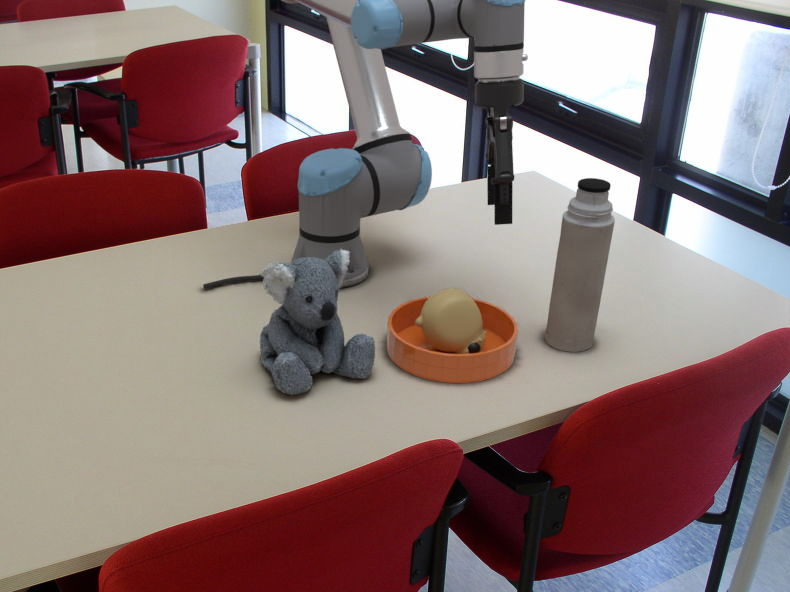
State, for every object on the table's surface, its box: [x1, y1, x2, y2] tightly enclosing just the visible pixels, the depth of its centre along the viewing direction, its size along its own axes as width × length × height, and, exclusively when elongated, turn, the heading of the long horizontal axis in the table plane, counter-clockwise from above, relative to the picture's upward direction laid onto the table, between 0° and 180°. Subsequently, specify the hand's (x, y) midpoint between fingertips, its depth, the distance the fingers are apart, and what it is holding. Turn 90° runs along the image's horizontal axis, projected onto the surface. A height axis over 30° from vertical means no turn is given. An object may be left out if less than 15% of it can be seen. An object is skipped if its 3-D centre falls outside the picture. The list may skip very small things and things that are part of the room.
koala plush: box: [259, 248, 376, 396], centre depth 142 cm, size 17×18×20 cm
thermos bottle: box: [544, 177, 616, 353], centre depth 147 cm, size 8×8×28 cm
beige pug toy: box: [415, 287, 487, 354], centre depth 149 cm, size 10×12×11 cm
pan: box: [386, 295, 519, 384], centre depth 150 cm, size 21×21×5 cm
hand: (499, 213), depth 149 cm, fingers open, 13 cm apart
